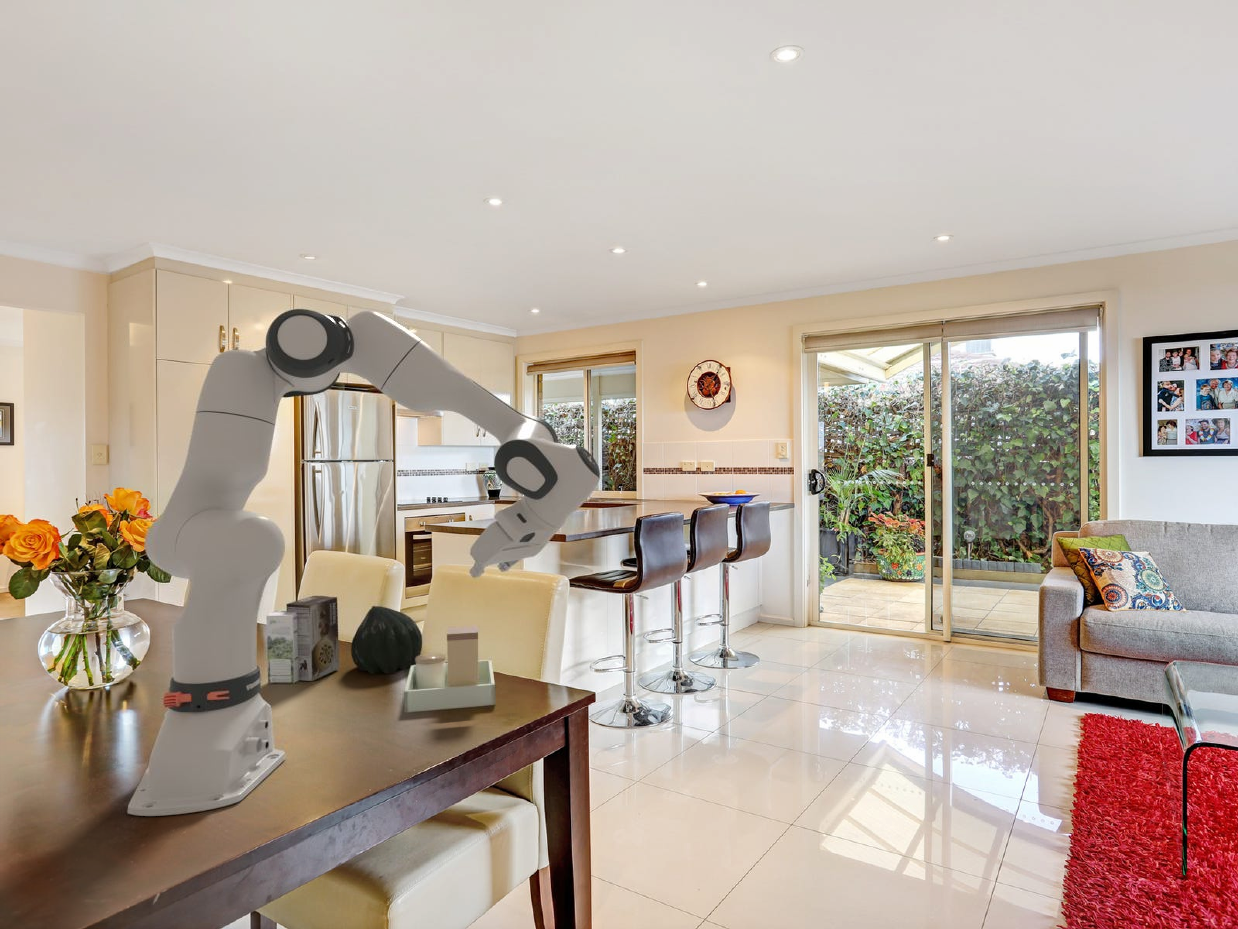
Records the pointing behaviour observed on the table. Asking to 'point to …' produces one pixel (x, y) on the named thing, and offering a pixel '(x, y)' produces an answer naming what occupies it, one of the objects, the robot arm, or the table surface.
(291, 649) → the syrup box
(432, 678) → the jar
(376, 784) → the table surface
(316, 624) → the coffee box
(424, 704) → the tray
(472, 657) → the carton
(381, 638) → the squash
